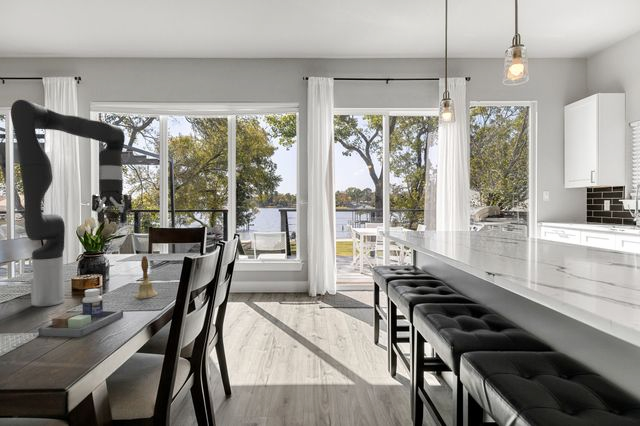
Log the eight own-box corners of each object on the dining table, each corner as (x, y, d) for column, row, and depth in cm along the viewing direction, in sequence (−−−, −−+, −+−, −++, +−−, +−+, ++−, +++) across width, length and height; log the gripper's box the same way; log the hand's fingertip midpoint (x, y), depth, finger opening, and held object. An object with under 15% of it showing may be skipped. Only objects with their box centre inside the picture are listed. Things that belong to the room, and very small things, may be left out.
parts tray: (38, 337, 104) (38, 328, 104) (86, 317, 122) (86, 309, 122) (80, 339, 103) (80, 330, 103) (123, 318, 121) (122, 310, 121)
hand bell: (142, 299, 144) (141, 258, 143) (130, 296, 148) (129, 256, 148) (161, 294, 151) (160, 255, 150) (149, 292, 155) (148, 254, 155)
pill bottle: (93, 324, 113) (92, 292, 113) (78, 323, 114) (77, 291, 114) (107, 318, 119) (106, 288, 118) (92, 317, 120) (91, 287, 119)
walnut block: (52, 332, 107) (51, 318, 106) (63, 327, 111) (63, 314, 110) (65, 332, 106) (64, 318, 106) (75, 328, 110) (75, 314, 110)
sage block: (68, 332, 106) (67, 319, 106) (79, 328, 110) (78, 314, 110) (81, 333, 105) (80, 319, 105) (91, 328, 109) (91, 315, 109)
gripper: (85, 178, 134) (87, 223, 134) (122, 177, 132) (123, 223, 133) (100, 179, 141) (101, 222, 142) (135, 178, 139) (136, 222, 140)
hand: (112, 222), depth 137 cm, fingers open, 8 cm apart
